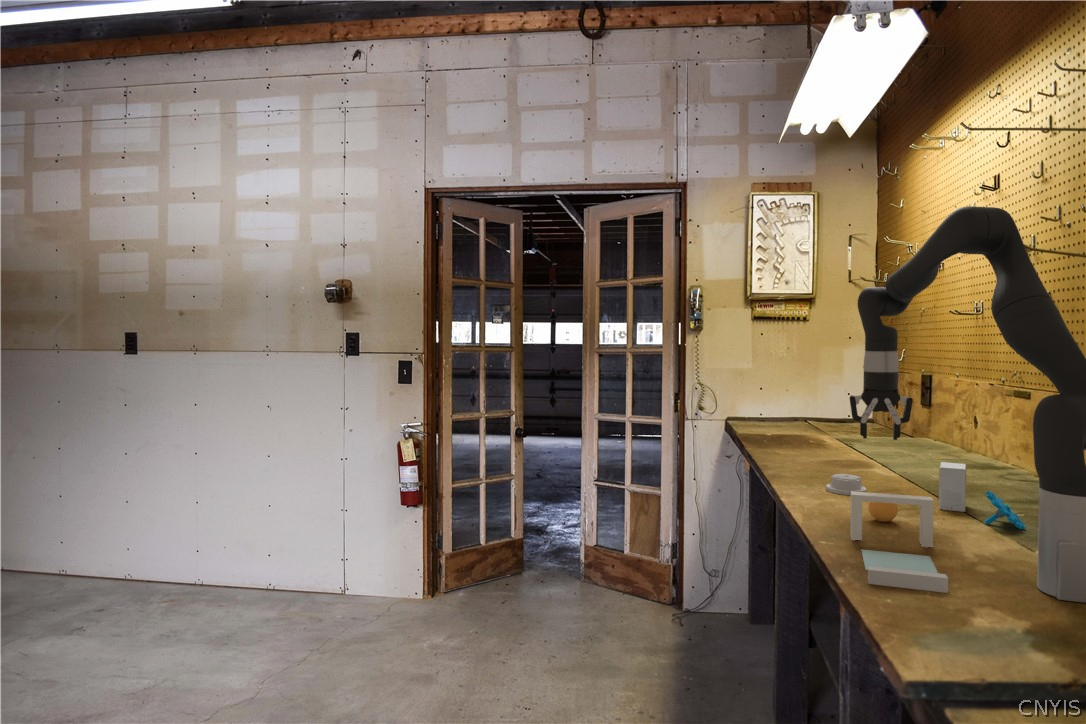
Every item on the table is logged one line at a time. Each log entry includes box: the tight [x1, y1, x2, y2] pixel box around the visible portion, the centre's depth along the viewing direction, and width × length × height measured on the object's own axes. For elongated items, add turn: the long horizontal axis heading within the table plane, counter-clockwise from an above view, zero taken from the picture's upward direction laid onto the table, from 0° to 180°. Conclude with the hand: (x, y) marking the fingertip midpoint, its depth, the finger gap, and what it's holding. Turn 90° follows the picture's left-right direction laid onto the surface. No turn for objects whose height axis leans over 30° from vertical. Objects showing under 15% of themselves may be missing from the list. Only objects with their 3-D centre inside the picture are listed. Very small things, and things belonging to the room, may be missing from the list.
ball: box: [868, 502, 899, 523], centre depth 155 cm, size 6×6×6 cm
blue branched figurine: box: [984, 490, 1027, 530], centre depth 151 cm, size 11×6×10 cm
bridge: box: [850, 491, 935, 549], centre depth 140 cm, size 3×15×10 cm, turn 68°
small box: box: [938, 461, 967, 513], centre depth 166 cm, size 8×6×10 cm
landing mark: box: [860, 549, 939, 574], centre depth 127 cm, size 12×12×1 cm
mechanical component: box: [825, 473, 867, 496], centre depth 184 cm, size 10×4×10 cm
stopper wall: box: [867, 566, 949, 594], centre depth 116 cm, size 2×12×2 cm, turn 68°
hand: (880, 438), depth 163 cm, fingers open, 6 cm apart
